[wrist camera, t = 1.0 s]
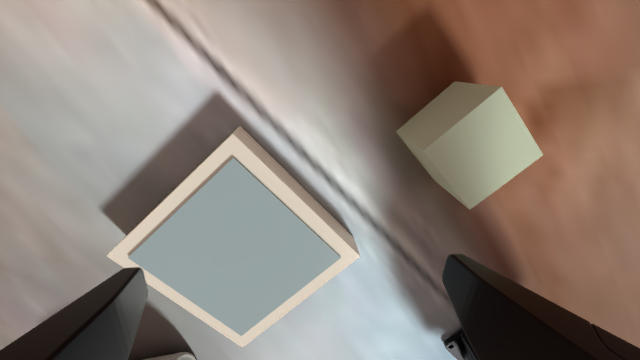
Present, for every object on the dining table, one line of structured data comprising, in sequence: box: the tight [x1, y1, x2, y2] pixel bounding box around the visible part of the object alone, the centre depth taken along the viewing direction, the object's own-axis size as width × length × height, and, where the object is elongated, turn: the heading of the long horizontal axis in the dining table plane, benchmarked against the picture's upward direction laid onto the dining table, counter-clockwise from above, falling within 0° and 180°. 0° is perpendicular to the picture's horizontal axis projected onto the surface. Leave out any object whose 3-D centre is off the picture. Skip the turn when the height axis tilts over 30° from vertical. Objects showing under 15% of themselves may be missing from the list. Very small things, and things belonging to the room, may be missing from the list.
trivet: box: [107, 126, 360, 348], centre depth 22 cm, size 12×12×3 cm
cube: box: [396, 81, 543, 210], centre depth 19 cm, size 5×5×5 cm
